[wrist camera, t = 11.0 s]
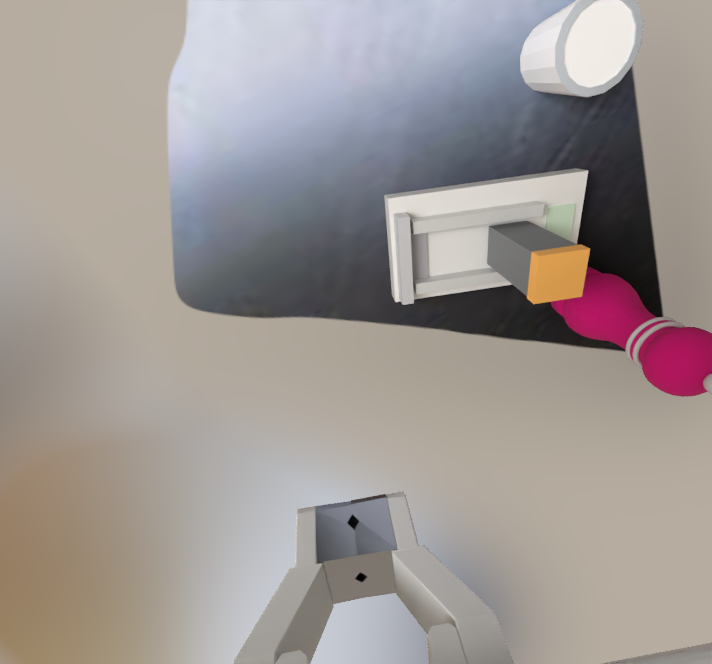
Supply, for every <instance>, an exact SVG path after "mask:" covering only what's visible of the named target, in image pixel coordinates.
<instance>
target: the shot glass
mask: <svg viewBox="0 0 712 664" xmlns="http://www.w3.org/2000/svg"><path fill="white" fill-rule="evenodd" d="M642 32H643V18H642V14H641V10H640V6H639V3H638V2H637V1H636V0H577V1H575V2H574V3H572V4H570V5H569V6H567V7H565V8H564V9H562V10H561V11H559V12H557V13H556V14H554V15H552V16H551V17H549V18H548V19H546V20H544V21H543V22H542V23H540V24H539V25H538V26H537V27H535V28H534V29H533V30H532V32H531V33H530V35H529V36H528V38H527V39H526V41H525V43H524V46H523V49H522V53H521V56H520V67H521V73H522V76H523V78H524V81H525V83H526V84H527V85H528V86H530V87H531V88H532V89H533V90H535V91H540V92H544V93H554V94H563V95H572V96H581V97H590V96H594V95H598V94H602V93H605V92H606V91H607V90H609V89H610V88H612V87H613V86H614V85H616V84H617V83H618V82H620V81H621V79H622V78H623V77H624V75H625V74H626V73H627V72H628V70H629V69H630V68H631V66H632V65H633V63H634V60H635V58H636V56H637V53H638V51H639V48H640V46H641V41H642Z"/></svg>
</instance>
